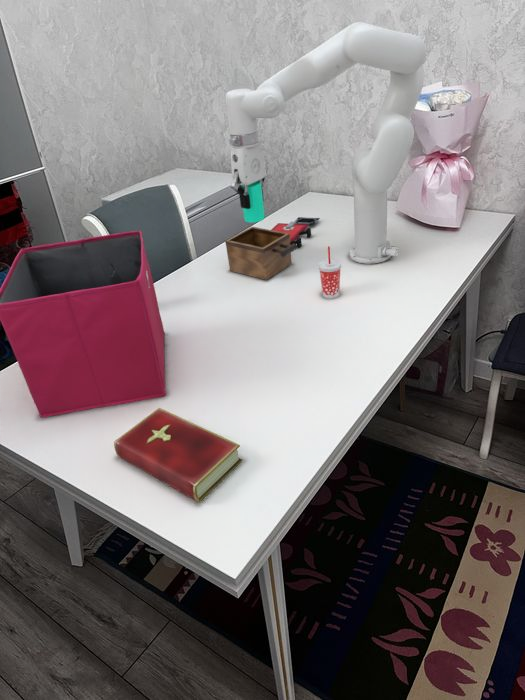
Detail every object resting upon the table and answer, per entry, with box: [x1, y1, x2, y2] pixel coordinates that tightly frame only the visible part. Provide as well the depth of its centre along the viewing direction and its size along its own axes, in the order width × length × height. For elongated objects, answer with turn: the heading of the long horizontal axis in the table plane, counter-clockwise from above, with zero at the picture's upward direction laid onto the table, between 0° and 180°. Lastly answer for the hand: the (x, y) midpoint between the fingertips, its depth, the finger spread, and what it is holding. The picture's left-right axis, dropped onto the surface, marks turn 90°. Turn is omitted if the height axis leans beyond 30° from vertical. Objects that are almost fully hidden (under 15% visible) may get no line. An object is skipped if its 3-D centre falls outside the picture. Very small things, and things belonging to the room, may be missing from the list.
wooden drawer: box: [224, 226, 298, 281], centre depth 167 cm, size 20×13×10 cm, turn 51°
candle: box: [242, 181, 266, 223], centre depth 160 cm, size 6×6×12 cm
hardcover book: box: [113, 407, 243, 503], centre depth 103 cm, size 12×21×4 cm, turn 52°
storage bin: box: [0, 230, 167, 419], centre depth 123 cm, size 28×29×28 cm
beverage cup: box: [317, 246, 342, 300], centre depth 148 cm, size 6×6×14 cm
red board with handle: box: [270, 216, 321, 249], centre depth 190 cm, size 30×3×15 cm
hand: (252, 204), depth 160 cm, fingers closed on candle, 5 cm apart
